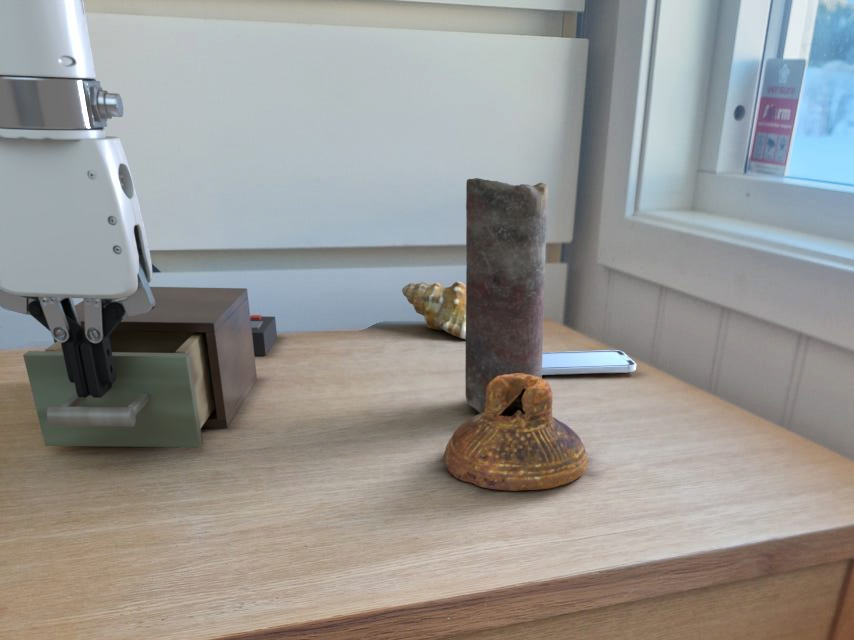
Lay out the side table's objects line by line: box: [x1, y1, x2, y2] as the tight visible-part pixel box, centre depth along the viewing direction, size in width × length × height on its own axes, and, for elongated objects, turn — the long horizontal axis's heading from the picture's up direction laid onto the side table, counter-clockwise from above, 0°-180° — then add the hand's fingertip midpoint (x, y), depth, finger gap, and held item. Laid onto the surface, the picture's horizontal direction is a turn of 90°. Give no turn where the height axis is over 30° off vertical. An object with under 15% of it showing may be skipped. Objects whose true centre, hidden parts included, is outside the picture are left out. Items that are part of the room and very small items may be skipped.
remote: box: [250, 314, 278, 357], centre depth 103 cm, size 8×4×3 cm, turn 2°
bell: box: [443, 373, 589, 492], centre depth 71 cm, size 12×12×7 cm
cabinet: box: [52, 286, 258, 429], centre depth 83 cm, size 16×14×9 cm
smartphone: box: [542, 349, 637, 376], centre depth 99 cm, size 7×1×15 cm
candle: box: [464, 177, 549, 414], centre depth 81 cm, size 8×7×20 cm
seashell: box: [401, 281, 466, 340], centre depth 112 cm, size 9×8×10 cm
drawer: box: [22, 331, 216, 448], centre depth 73 cm, size 20×12×7 cm, turn 2°
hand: (95, 391), depth 67 cm, fingers closed
